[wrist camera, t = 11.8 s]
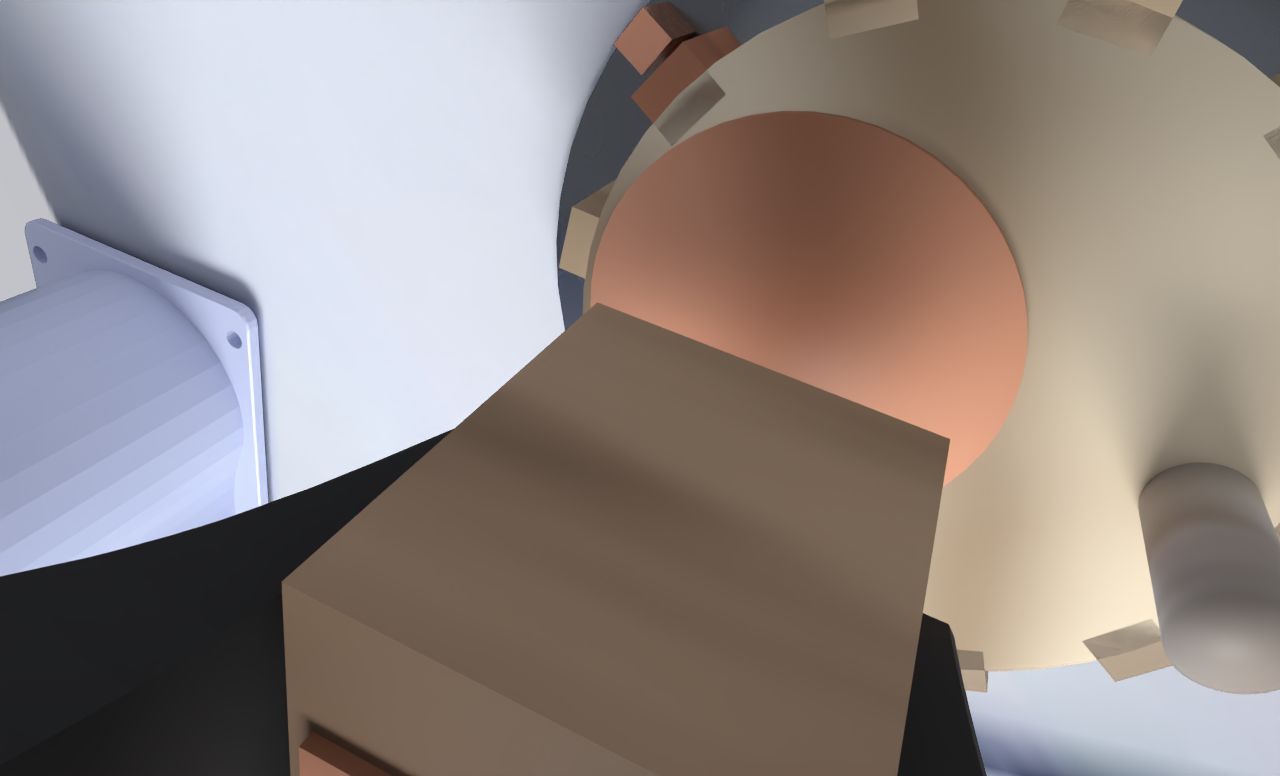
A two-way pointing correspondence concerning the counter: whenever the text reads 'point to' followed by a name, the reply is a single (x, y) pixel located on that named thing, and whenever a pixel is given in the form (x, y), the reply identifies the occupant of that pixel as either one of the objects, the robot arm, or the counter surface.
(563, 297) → the base plate
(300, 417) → the counter surface
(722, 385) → the link block
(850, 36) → the sprocket
